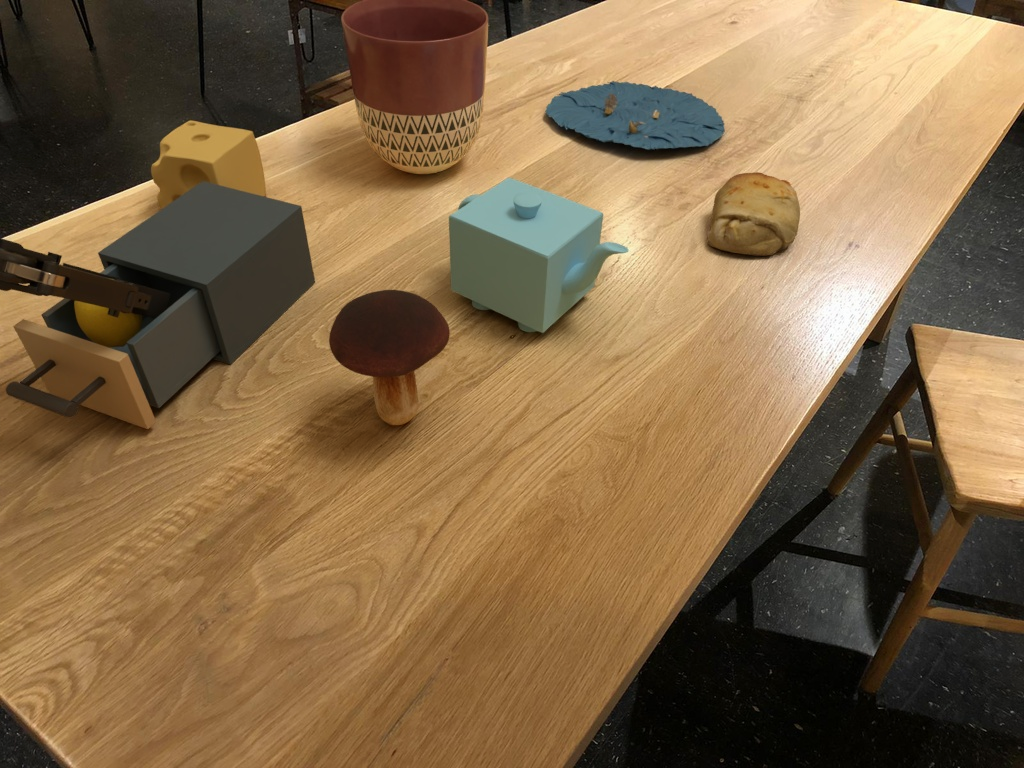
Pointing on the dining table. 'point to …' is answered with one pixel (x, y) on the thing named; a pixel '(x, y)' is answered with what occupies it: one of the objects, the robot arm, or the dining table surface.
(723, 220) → the pastry
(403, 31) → the planter
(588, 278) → the teapot
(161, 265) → the cabinet
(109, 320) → the lemon
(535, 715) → the dining table surface
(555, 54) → the dining table surface
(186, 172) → the cheese
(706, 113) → the decorative plate
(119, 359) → the drawer
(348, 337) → the decorative mushroom
